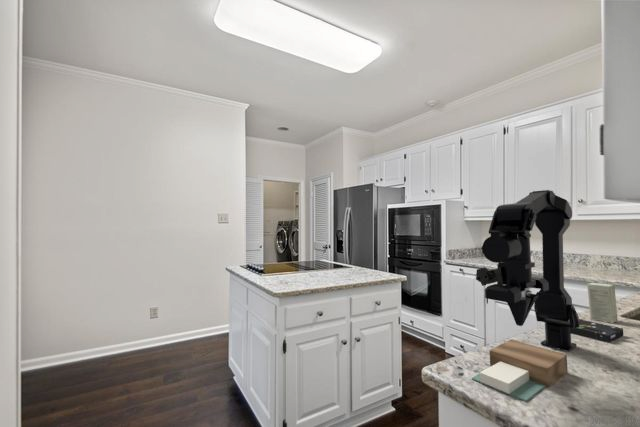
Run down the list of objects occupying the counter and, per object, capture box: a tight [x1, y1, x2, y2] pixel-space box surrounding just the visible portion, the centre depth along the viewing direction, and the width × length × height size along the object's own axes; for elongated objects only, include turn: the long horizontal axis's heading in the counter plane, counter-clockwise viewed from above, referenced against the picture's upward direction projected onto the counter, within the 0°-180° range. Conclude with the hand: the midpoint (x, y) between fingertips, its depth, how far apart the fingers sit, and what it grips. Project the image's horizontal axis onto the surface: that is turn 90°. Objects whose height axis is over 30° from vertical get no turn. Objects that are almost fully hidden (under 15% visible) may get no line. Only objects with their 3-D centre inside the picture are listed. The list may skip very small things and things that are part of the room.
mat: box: [471, 373, 546, 403], centre depth 68 cm, size 9×11×1 cm
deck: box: [488, 339, 569, 389], centre depth 73 cm, size 11×12×4 cm
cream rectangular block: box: [479, 361, 529, 394], centre depth 68 cm, size 9×6×2 cm, turn 123°
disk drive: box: [571, 318, 624, 344], centre depth 96 cm, size 10×3×15 cm
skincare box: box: [587, 282, 619, 324], centre depth 106 cm, size 6×4×12 cm
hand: (519, 325), depth 72 cm, fingers closed
